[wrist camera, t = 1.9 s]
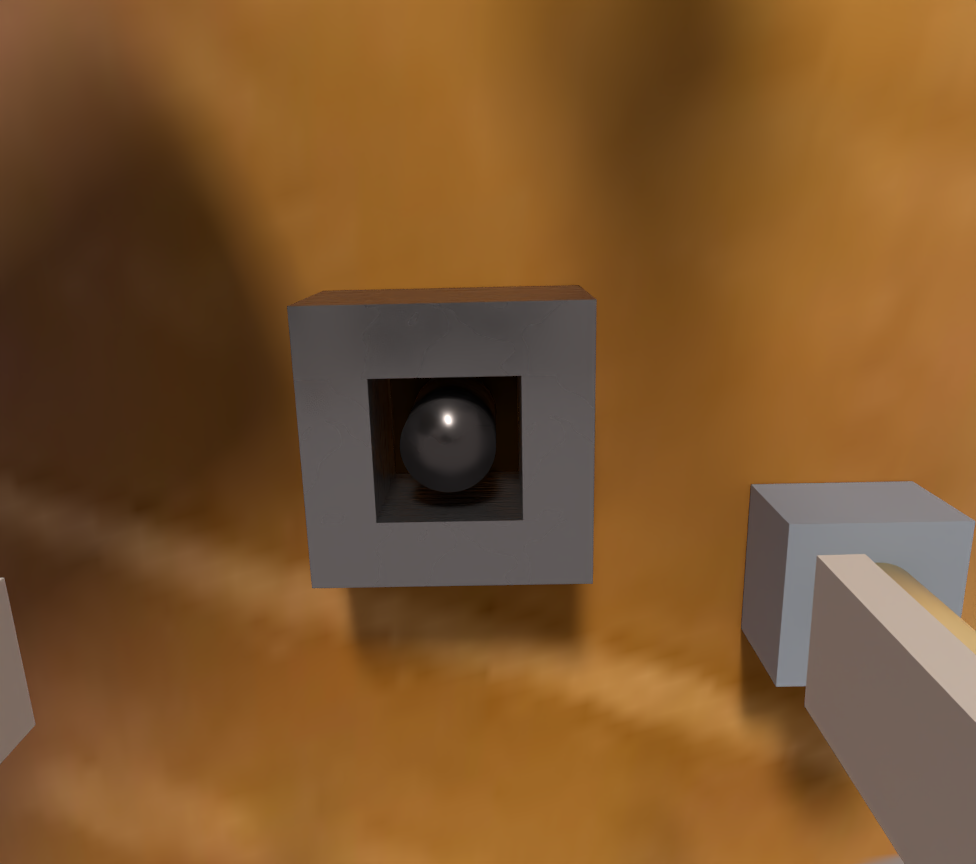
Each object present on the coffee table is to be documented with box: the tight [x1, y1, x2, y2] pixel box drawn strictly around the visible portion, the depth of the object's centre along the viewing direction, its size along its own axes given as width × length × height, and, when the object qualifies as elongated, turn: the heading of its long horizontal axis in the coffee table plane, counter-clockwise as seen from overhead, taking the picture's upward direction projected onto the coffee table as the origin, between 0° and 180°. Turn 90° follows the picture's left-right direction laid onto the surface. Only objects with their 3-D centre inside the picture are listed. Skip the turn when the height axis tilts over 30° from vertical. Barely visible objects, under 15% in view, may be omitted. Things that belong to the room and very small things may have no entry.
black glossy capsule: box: [400, 377, 496, 492], centre depth 27 cm, size 3×3×4 cm
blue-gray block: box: [741, 481, 976, 687], centre depth 26 cm, size 6×6×9 cm
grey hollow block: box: [287, 285, 596, 588], centre depth 27 cm, size 9×9×5 cm
